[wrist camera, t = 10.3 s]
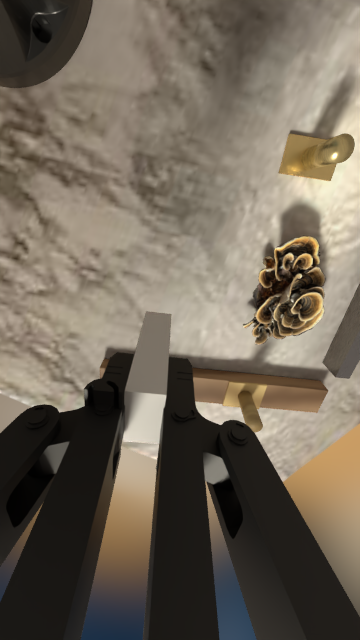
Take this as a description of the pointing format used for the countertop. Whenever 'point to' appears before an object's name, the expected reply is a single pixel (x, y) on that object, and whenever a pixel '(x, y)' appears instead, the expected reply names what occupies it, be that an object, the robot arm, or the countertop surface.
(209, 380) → the beam plank
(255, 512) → the robot arm
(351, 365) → the end stop
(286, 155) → the near post
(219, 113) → the countertop surface
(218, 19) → the countertop surface
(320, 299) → the mushroom
